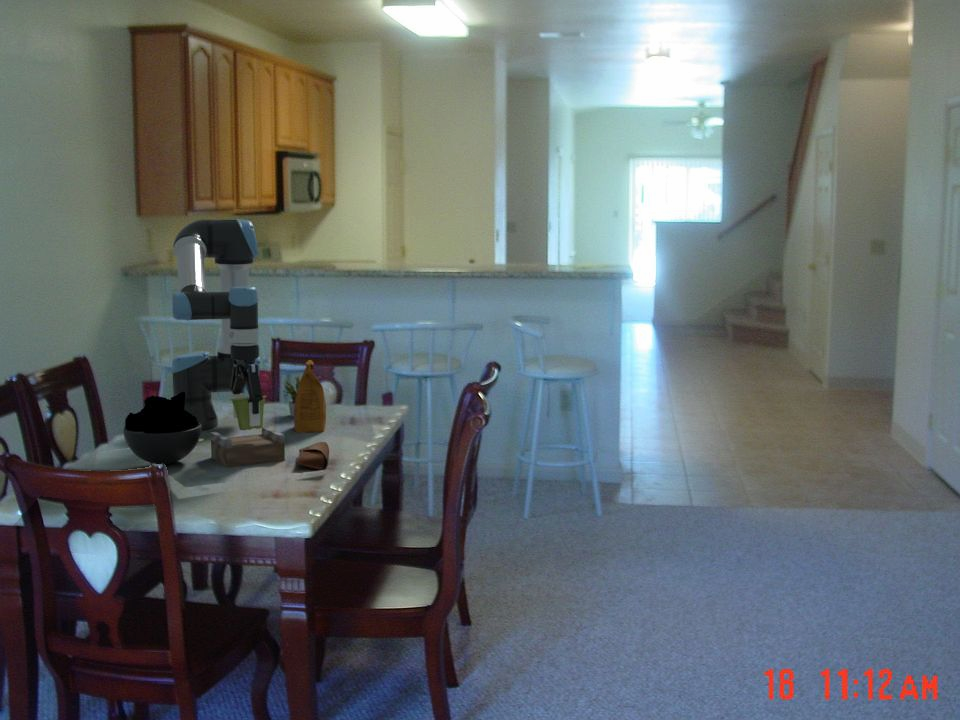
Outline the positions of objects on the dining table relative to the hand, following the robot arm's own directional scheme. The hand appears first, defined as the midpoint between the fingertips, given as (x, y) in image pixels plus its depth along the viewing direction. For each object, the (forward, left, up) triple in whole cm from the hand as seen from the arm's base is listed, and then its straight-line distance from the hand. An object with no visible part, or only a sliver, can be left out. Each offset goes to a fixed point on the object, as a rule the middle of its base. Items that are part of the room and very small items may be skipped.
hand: (246, 421), depth 276 cm
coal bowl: (-6, -21, -11) cm, 24 cm away
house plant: (-47, +34, -10) cm, 59 cm away
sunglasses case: (+13, +11, -11) cm, 21 cm away
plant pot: (+4, 0, -2) cm, 4 cm away
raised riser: (0, 0, -10) cm, 10 cm away
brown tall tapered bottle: (-28, +29, -11) cm, 42 cm away
